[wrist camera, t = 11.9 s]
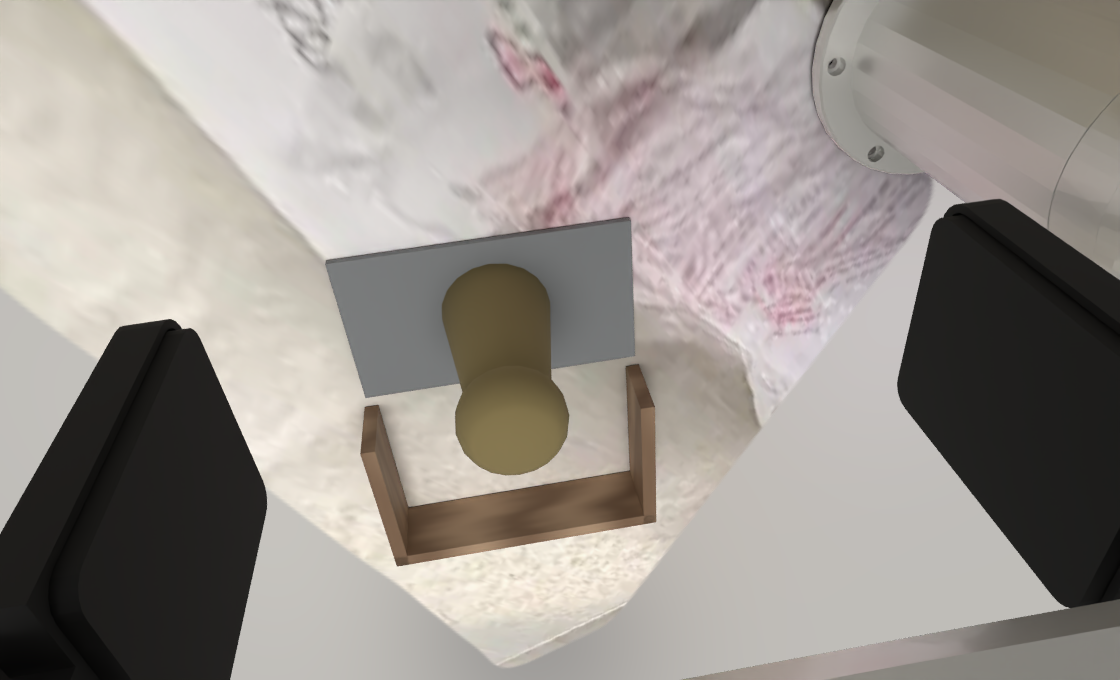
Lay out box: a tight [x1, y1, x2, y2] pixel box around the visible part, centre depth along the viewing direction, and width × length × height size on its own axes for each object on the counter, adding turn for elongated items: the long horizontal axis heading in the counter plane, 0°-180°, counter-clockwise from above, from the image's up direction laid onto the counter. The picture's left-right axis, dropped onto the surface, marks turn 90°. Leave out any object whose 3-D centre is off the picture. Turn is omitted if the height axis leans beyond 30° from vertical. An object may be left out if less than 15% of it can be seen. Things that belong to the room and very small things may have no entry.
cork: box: [442, 264, 569, 475], centre depth 38 cm, size 6×6×11 cm
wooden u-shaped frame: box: [360, 365, 656, 566], centre depth 47 cm, size 17×10×4 cm, turn 95°
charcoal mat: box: [325, 217, 635, 398], centre depth 43 cm, size 16×9×1 cm, turn 95°
